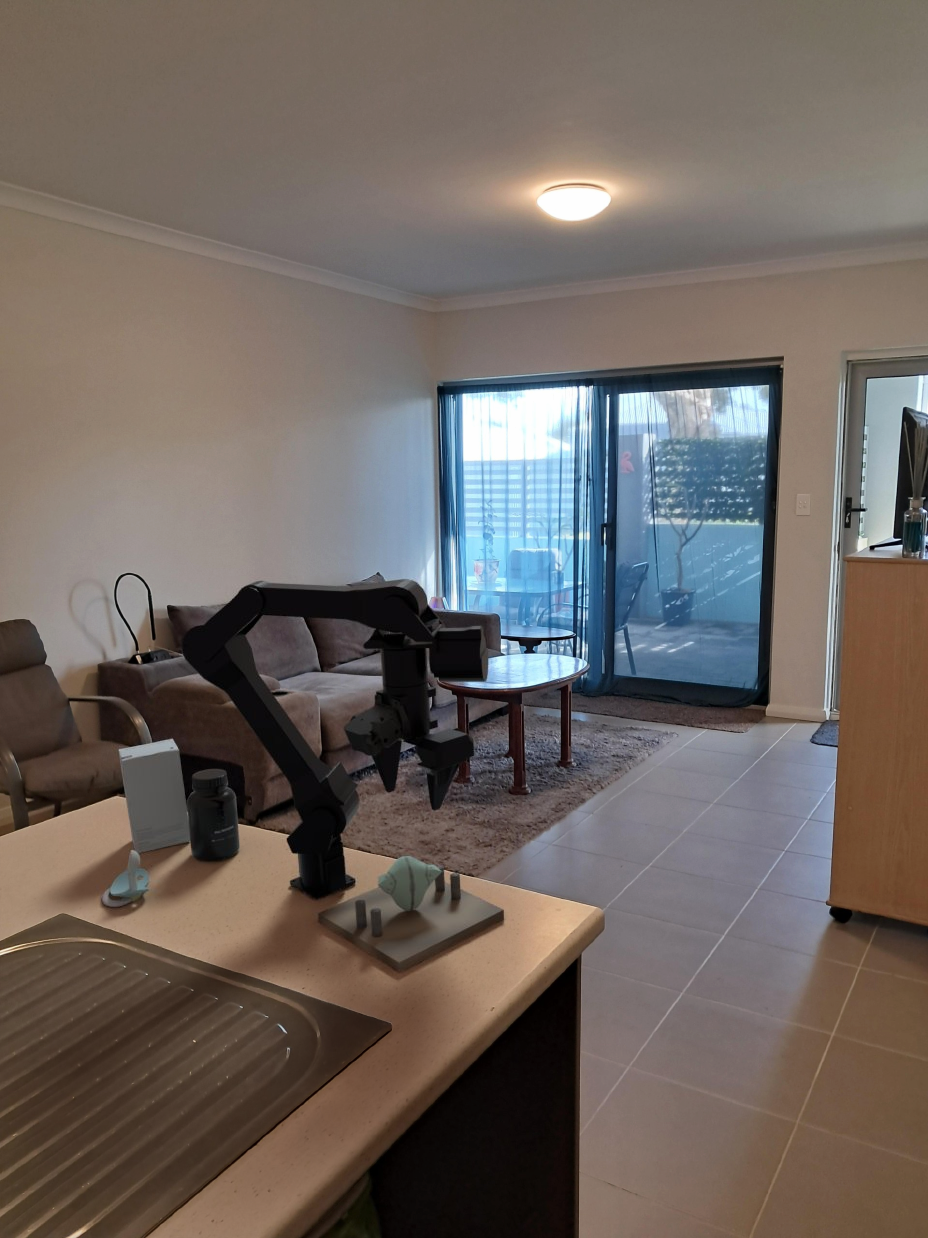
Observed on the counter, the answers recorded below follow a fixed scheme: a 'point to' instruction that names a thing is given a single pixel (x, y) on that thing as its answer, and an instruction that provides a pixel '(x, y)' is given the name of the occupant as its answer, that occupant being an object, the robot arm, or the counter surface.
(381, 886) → the grey-green curved shell
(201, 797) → the supplement bottle
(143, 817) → the skincare box
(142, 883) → the pacifier
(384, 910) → the pin tray
